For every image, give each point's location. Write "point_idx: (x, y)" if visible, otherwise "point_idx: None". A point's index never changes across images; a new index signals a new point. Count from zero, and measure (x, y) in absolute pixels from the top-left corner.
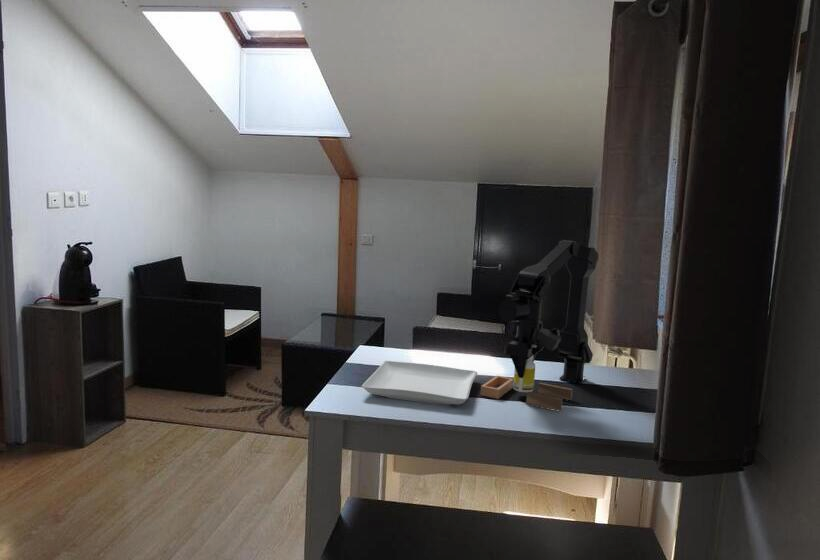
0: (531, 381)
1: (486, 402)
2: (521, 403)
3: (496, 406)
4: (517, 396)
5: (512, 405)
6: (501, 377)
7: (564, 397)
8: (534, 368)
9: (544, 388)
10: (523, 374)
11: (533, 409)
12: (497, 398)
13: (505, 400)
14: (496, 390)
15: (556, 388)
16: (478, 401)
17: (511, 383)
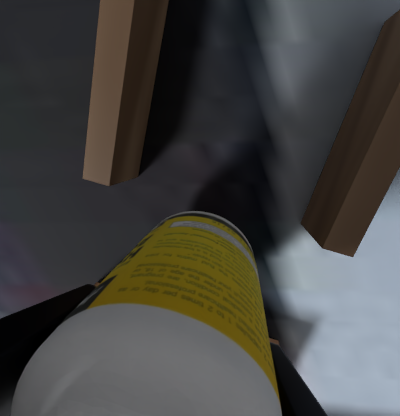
0: (235, 254)
1: (340, 381)
2: (310, 249)
3: (387, 349)
4: None
5: (354, 288)
6: None
7: (161, 13)
8: (193, 313)
9: (125, 144)
10: (294, 373)
11: (397, 192)
12: (278, 344)
13: (288, 314)
14: None
15: (131, 56)
16: (336, 405)
17: None
